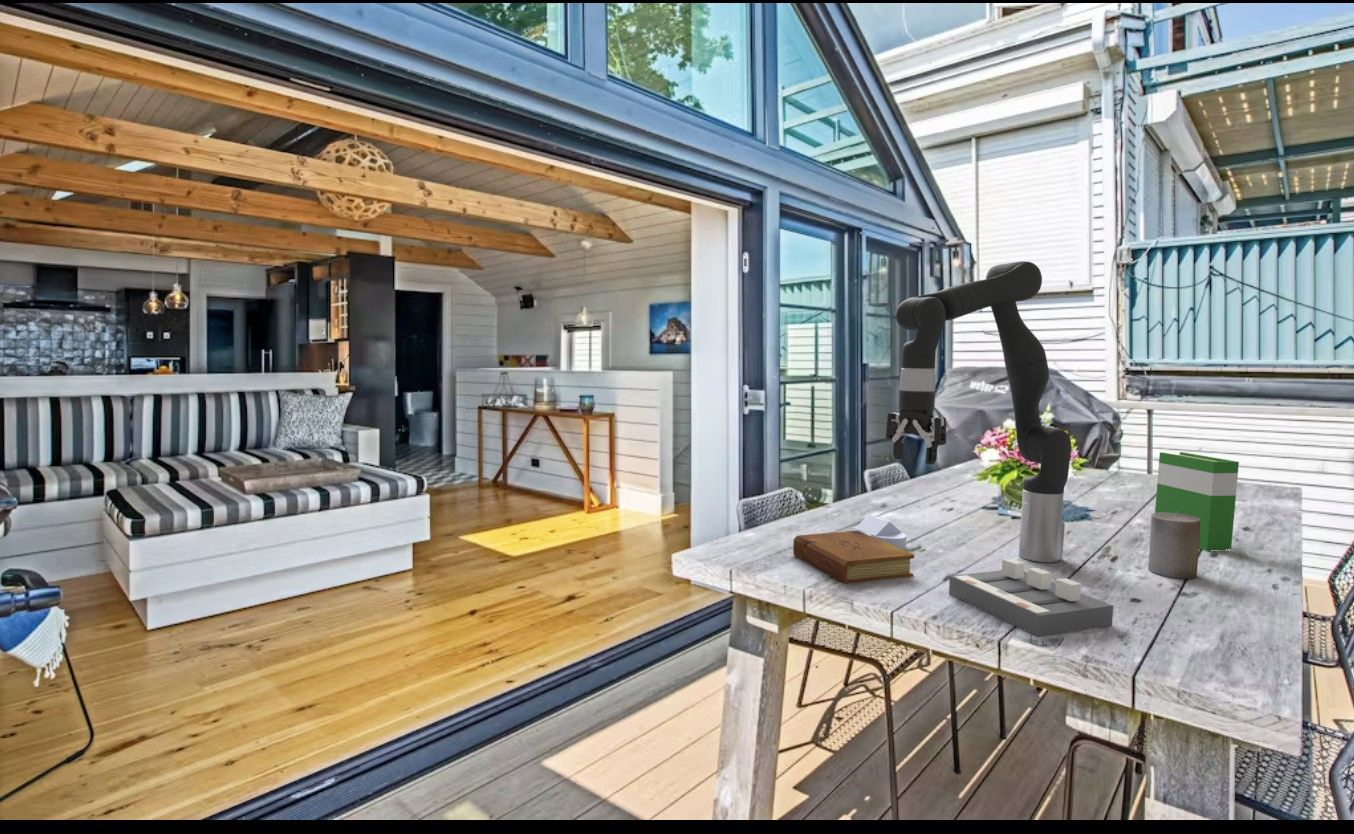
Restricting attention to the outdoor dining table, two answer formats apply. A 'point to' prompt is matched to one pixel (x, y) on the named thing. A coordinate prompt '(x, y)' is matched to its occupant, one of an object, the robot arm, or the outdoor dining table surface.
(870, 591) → the outdoor dining table surface
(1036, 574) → the switch tab
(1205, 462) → the hardback book
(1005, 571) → the switch tab
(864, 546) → the diary
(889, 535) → the wedge on round base
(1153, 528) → the pillar candle
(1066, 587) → the switch tab
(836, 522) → the outdoor dining table surface
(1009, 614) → the panel
